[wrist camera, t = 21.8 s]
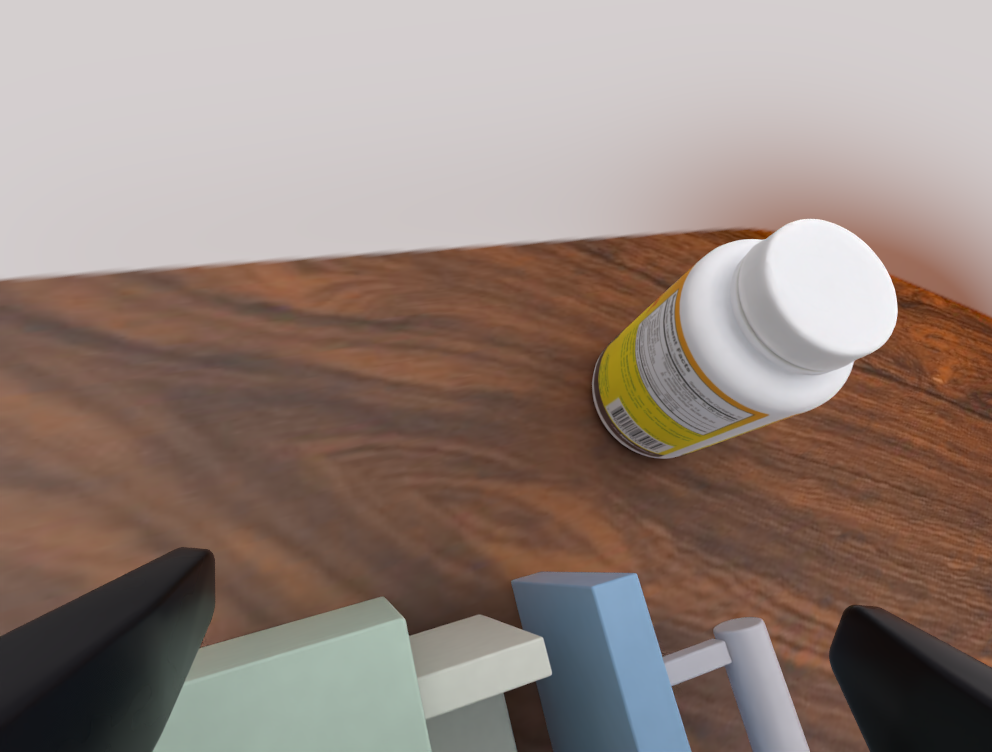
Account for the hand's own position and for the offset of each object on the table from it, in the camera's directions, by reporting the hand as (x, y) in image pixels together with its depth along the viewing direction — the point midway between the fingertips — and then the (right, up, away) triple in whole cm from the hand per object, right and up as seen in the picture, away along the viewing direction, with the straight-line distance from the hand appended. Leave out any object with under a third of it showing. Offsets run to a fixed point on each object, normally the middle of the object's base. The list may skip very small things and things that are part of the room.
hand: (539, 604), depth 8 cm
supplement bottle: (+6, +2, +16) cm, 17 cm away
